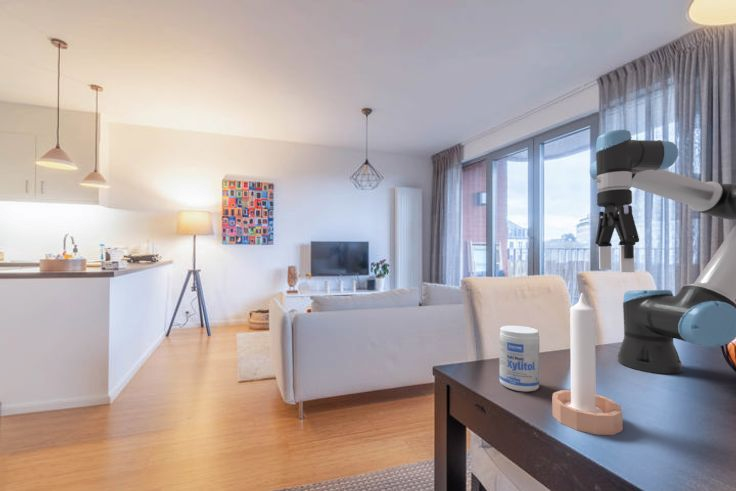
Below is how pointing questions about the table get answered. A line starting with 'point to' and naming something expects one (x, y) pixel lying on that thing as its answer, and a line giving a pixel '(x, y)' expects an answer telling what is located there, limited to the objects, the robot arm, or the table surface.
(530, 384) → the supplement tub
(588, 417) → the jar dish
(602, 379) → the table surface
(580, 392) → the candle
